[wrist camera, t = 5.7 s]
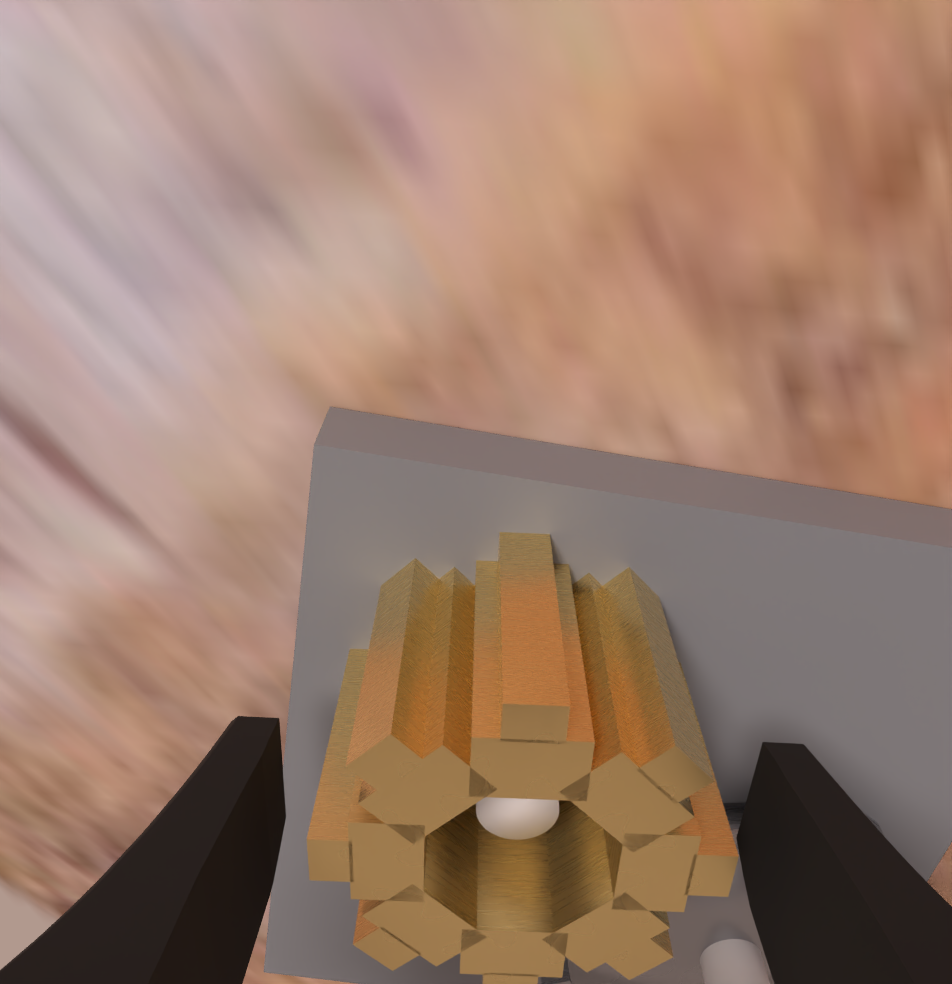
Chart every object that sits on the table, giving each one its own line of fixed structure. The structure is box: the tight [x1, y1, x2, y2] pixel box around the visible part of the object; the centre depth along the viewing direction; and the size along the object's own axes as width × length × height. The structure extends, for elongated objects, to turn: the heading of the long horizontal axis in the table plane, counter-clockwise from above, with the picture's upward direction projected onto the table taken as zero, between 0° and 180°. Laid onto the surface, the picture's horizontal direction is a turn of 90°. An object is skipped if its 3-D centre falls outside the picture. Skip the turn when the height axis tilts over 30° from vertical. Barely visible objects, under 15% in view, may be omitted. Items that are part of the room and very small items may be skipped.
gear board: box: [264, 407, 952, 984], centre depth 16 cm, size 13×13×4 cm
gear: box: [541, 803, 885, 984], centre depth 18 cm, size 8×8×1 cm
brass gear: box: [307, 532, 739, 984], centre depth 13 cm, size 6×6×4 cm
